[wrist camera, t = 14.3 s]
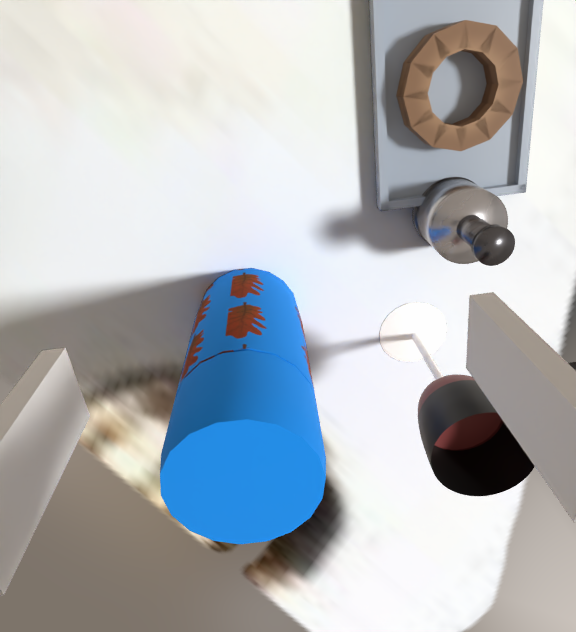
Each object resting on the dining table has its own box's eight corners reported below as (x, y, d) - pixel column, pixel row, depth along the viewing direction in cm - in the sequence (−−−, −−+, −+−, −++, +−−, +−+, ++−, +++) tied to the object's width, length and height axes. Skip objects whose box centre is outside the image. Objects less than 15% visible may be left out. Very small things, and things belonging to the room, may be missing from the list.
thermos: (180, 326, 55) (125, 506, 32) (232, 247, 51) (212, 387, 29) (264, 372, 58) (268, 565, 35) (319, 300, 54) (362, 465, 32)
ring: (375, 98, 45) (381, 99, 43) (455, -4, 42) (466, -8, 39) (450, 167, 48) (460, 172, 46) (530, 77, 45) (545, 78, 42)
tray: (377, 207, 50) (380, 211, 48) (367, -36, 41) (371, -40, 40) (517, 188, 50) (525, 192, 48) (539, -58, 41) (549, -63, 40)
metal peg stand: (398, 217, 50) (433, 254, 40) (448, 160, 48) (499, 184, 38) (446, 257, 53) (490, 302, 43) (496, 204, 50) (556, 238, 40)
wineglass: (408, 285, 54) (483, 393, 36) (465, 326, 56) (562, 447, 39) (360, 338, 56) (408, 465, 38) (417, 376, 59) (486, 511, 41)
